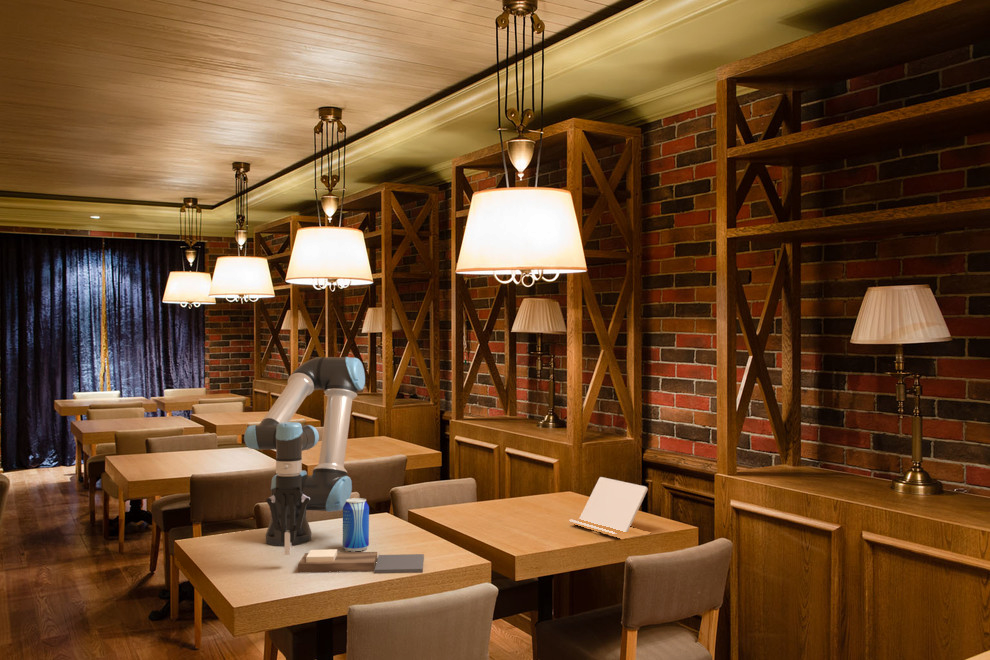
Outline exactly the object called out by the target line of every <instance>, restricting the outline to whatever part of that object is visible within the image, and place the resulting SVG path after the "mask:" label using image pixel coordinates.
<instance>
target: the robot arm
mask: <svg viewBox="0 0 990 660" xmlns="http://www.w3.org/2000/svg"><path fill="white" fill-rule="evenodd" d="M365 385H366V373H365V368H364V365H363V363H362V361H361V360H360V359H359V358H357V357H348V356H344V357H342V356H340V357H339V356H338V357H337V356H336V357H335V356H319V357H318V356H317V357H314V358H311V359H309V360H307V361H305V362H304V363H302V364H301V365H299V366H298V367H297V368H295V370H294V371H293V372H292V373H291V374H290V375H289V377H288V378H287V384H286V386H285V387H284V389H283V391H282V392H281V393H280V395H279V396H278V397H277V399H276V400H275V402H274V403H273V405H271V407H270V409H269V411H268V412H267V413H266V415H265V416H264V418H263V419H262V420H261V421H260V423H259V424H254V425H252V424H251V425H248V426H247V427H246V429H245V431H244V436H243V437H244V438H243V440H244V443H245V446H246V447H247V448H248V449H250V450H251V449H252V450H253V449H254V450H260V451H261V450H265V451H266V450H268V451H269V450H272V451H273V450H275V473H276V474H275V475H273V476H272V478H271V485H270V496H269V497H268V498H266V500H265V501H266V503H267V505H268V506H269V509H270V521H269V524H268V527H267V531H266V533H265V543H266V544H268V545H269V546H270V545H271V546H277V547H278V546H279V547H280V546H281V547H283V546H284V555H285V556H286V555H291V554H292V546H296V545H302V544H305V543H309V542H310V541H311V540H312V530H311V527H310V526H311V525H310V524H309V521H308V517H307V511H315V512H316V511H318V512H319V511H320V512H328V513H331V512H340V511H343V506H344V505H345V503H346V500H347V499H351V496H352V490H353V485H352V484H353V482H352V479H351V477H350V476H348V471H347V470H346V468H345V462H346V461H345V460H346V452H347V443H348V435H349V430H350V429H349V428H350V421H351V412H352V405H353V400H355V399H356V398H357V397H358V393H359V391H363V389H364V388H365ZM317 390H322V391H323V393H324V394H325V396H326V397H327V399H326V400H327V402H326V408H325V415H324V423H323V429H322V430H323V431H322V437H321V444H320V450H319V451H320V452H319V458H318V465H316V466H314V467H313V468H312V475H308V472H307V471H306V469H305V470H303V469H302V467H303V466H302V465H303V461H302V460H303V458H302V453H303V452H304V451H308V450H311V449H312V448H314V447H315V446H317V444H318V442H319V439H320V434H319V431H318V430H317V428H316V427H315V426H313V425H311V424H303V425H302V424H301V423H300V422H296V421H291V420H292V419H293V418H294V415H295V414H296V413H297V411H298V409H299V408H300V407H301V405H302V403H303V402H304V400H305V399H306V398H307V396H310V395H311V394H313V392H314V391H317Z"/></svg>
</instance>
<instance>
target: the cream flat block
mask: <svg viewBox="0 0 990 660" xmlns="http://www.w3.org/2000/svg"><path fill="white" fill-rule="evenodd" d="M307 553H308V555H307V557H306V562H334V560H335V558H336V556H337V553H338V548H337V549H335V548H334V549H331V548H330V549H310V550H309V552H307Z"/></svg>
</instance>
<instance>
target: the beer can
mask: <svg viewBox="0 0 990 660" xmlns="http://www.w3.org/2000/svg"><path fill="white" fill-rule="evenodd" d="M369 545H370V506H369V504H368V502H367V499H366V498H361V497H353V498H350V499H347V500H346V503H345V505H344V506H343V510H342V547H343V549H344V550H346V551H345V552H348V551H351V552H355V551H361V552H363V551H362V550H365V551H366V550H367V548H369Z"/></svg>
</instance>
